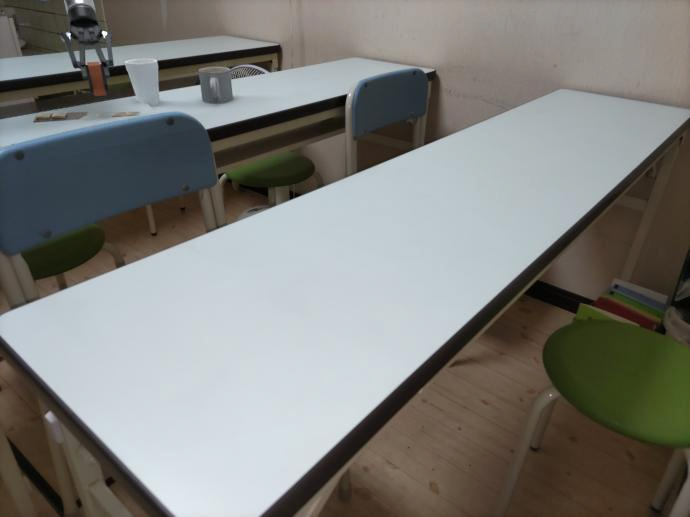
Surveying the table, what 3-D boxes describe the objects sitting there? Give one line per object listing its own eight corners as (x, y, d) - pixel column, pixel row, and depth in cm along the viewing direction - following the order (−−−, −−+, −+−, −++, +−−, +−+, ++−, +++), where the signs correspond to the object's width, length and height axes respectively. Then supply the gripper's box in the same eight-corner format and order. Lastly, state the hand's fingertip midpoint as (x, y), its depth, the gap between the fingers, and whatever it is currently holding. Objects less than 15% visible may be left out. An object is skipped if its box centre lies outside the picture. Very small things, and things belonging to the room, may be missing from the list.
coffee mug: (208, 97, 174) (204, 66, 168) (236, 98, 173) (233, 67, 168) (194, 107, 162) (190, 74, 157) (225, 108, 161) (221, 75, 156)
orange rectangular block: (94, 96, 141) (88, 65, 136) (93, 91, 144) (87, 62, 140) (106, 95, 142) (100, 65, 138) (104, 91, 146) (98, 61, 141)
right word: (94, 124, 143) (92, 118, 142) (97, 116, 149) (96, 111, 149) (139, 122, 146) (138, 116, 145) (140, 114, 153) (139, 109, 152)
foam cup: (127, 104, 162) (118, 61, 156) (153, 99, 168) (146, 57, 162) (143, 109, 157) (135, 65, 150) (170, 103, 163) (163, 61, 157)
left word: (34, 124, 141) (32, 119, 140) (40, 116, 147) (38, 111, 146) (85, 122, 144) (84, 117, 143) (89, 115, 150) (87, 109, 150)
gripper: (113, 22, 149) (131, 93, 145) (52, 24, 143) (68, 98, 139) (111, 4, 143) (129, 78, 139) (47, 5, 136) (64, 82, 132)
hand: (99, 88), depth 139 cm, fingers closed on orange rectangular block, 3 cm apart
